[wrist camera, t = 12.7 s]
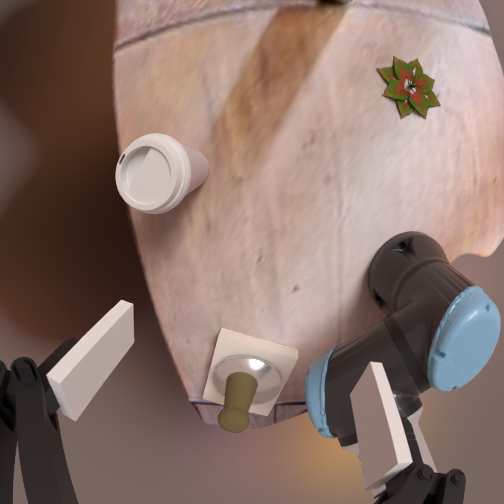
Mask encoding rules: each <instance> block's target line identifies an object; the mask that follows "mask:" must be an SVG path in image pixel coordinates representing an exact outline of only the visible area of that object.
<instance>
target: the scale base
mask: <svg viewBox="0 0 504 504" xmlns="http://www.w3.org/2000/svg"><path fill="white" fill-rule="evenodd" d="M233 355H253V356H257V357H260V358H262V359H265V360H267V361H268V362H270V363H271V364H273V365H274V366H275V367H276V368H277V370H278V371H279V373H280V375H281V389H280V392H279V393H278V395H277V396H276V397H275V398H274V399H272V400H271V401H268V402H266V403H263V404H258V405H251V406H250V409H249V412H251V413H255V414H260V415H264V416H268V415H269V413H270V411H271V410H272V408H273V406H274V404H275V402H276V401H277V399H278V397H279V395H280V393H281V391H282V389H283V388H284V386H285V384H286V382H287V380H288V378H289V376H290V374H291V372H292V370H293V368H294V366H295V364H296V362H297V360H298V349H296V348H292V347H288V346H284V345H280V344H277V343H273V342H269V341H266V340H262V339H258V338H255V337H251V336H248V335H244V334H241V333H238V332H234V331H231V330H228V329H224V328H221V331H220V334H219V336H218V340H217V343H216V347H215V351H214V355H213V359H212V363H211V367H210V371H209V375H208V379H207V383H206V386H205V390H204V394H203V398H202V399H205V400H208V401H211V402H215V403H218V404H221V405H224V398H225V397H224V396H223V395H222V394H220V393H219V392H218V390H217V389H216V387H215V386H214V383H213V373H214V370H215V368H216V366H217V364H218V363H219V362H220V361H222V360H223V359H225V358H227V357H230V356H233Z"/></svg>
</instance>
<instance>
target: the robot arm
mask: <svg viewBox="0 0 504 504" xmlns="http://www.w3.org/2000/svg"><path fill="white" fill-rule="evenodd" d="M368 284H369V289H370V292H371V295H372V297H373V299H374V300H375V302H376V304H377V305H378V306H379V308H380V309H381V310H382V311H384V312H385V313H387V314H388V316H387V317H385V318H384V319H382V320H381V321H379V322H378V323H376V324H375V325H373V326H372V327H370V328H368V329H367V330H365V331H364V332H362V333H360V334H359V335H357V336H355V337H354V338H352V339H350V340H349V341H347V342H345V343H344V344H342V345H340V346H339V347H337V346H336V347H334V348H332V349H331V350H330V352H328V353H327V354H325V355H324V356H322V357H320V358H319V359H317V360H315V361H314V362H313V363H312V364H311V365H310V366H309V368H308V370H307V373H306V378H305V382H304V394H305V401H306V406H307V410H308V413H309V416H310V418H311V421H312V423H313V425H314V426H315V428H318V432H319V433H320V434H321V435H322V436H323V437H326V438H336V437H337V438H338V440H339V442H340V445H341V447H342V449H345V450H348V451H351V452H354V453H356V454H357V455H358V457H359V459H360V462H361V467H362V476H363V485H364V490H369V489H372V491H373V494H374V496H375V497H374V498H375V499H376V502H375V503H374V504H463V499H464V491H465V482H466V480H465V475H464V473H463V472H462V471H461V470H459V469H453V470H450V471H449V472H448V473H447V474H442V473H437V471H436V468H435V465H434V463H433V460H432V457H431V455H430V452H429V450H428V447H427V445H426V442H425V440H424V438H423V435H422V433H421V430H420V428H419V426H418V420H419V417H420V415H421V412H422V410H423V405H422V403H421V401H420V398H419V395H420V394H421V393H423V392H424V391H426V390H427V389H429V388H431V387H433V388H435V389H437V390H439V391H445V392H446V391H447V392H448V391H450V390H451V389H452V388H453V389H458V388H460V387H462V386H463V385H465V384H466V383H468V382H469V381H470V380H472V379H473V378H474V377H475V376H476V375H477V374H478V373H479V372H480V371H481V370H482V368H483V367H484V366H485V364H486V363H487V361H488V360H489V358H490V356H491V355H492V353H493V350H494V348H495V346H496V344H497V341H498V337H499V333H500V315H499V312H498V309H497V307H496V305H495V304H494V303H493V302H492V301H491V300H490V298H489V297H488V296H487V295H486V293H485V292H484V290H482V289H481V288H480V287H478V286H476V285H475V284H474V283H472V282H471V281H470V280H469V279H468V278H466V277H465V276H464V275H463V274H461V273H460V272H459V271H458V270H456V269H455V268H454V267H452V266H451V265H450V263H449V261H448V259H447V257H446V255H445V253H444V251H443V249H442V247H441V246H440V245H439V244H438V243H437V242H436V241H435V240H434V239H432V238H431V237H429V236H428V235H426V234H424V233H420V232H414V231H411V232H404V233H401V234H398V235H396V236H394V237H392V238H391V239H390V240H388V241H387V242H386V243H385V244H384V245H383V246H382V247H381V248H380V249H379V250H378V252H377V253H376V255H375V257H374V258H373V261H372V263H371V266H370V270H369V276H368ZM133 343H134V323H133V304H132V303H129V302H126V301H123V300H121V301H120V302H119V303H118V304H117V305H116V306H114V308H112V309H111V310H110V311H109V312H108V313H107V314H106V315H105V316H104V317H103V318H102V319H101V320H100V321H99V322H98V323H97V324H96V325H95V326H94V327H93V328H92V329H91V330H90V331H89V332H88V333H87V334H86V335H85V336H84V337H83V338H82V339H81V340H78V339H76V338H74V337H73V338H70V339H68V340H66V341H64V342H63V343H62V344H61V345H60V346H59V347H58V349H56V350H55V351H54V353H53V354H51V355H50V356H49V357H48V358H47V359H46V360H45V361H44V362H43V363H42V364H41V365H40V366H39V367H38V368H37V366H36V363H35V362H34V361H33V360H32V359H30V358H28V357H21V358H18V359H16V360H14V362H13V363H12V364H11V367H10V368H11V371H10V370H7V368H6V366H5V364H4V363H3V362H2V361H1V360H0V504H13V476H14V464H15V455H16V446H17V440H18V449H19V457H20V464H21V471H22V477H23V482H24V487H25V492H26V496H27V500H28V504H79V503H78V501H77V498H76V494H75V492H74V488H73V485H72V482H71V478H70V474H69V471H68V467H67V463H66V459H65V454H64V450H63V445H62V439H61V434H60V428H59V422H58V415H57V412H56V411H57V410H58V408H59V407H60V408H61V410H62V412H63V414H64V415H66V416H68V417H69V418H71V419H73V420H74V421H76V420H77V419H78V417H79V416H80V415H81V413H82V412H83V410H84V409H85V408H86V406H87V405H88V403H89V402H90V400H91V399H92V398H93V397H94V395H95V394H96V392H97V391H98V390H99V388H100V387H101V386H102V384H103V383H104V381H105V380H106V379H107V377H108V376H109V375H110V373H111V372H112V371H113V369H114V368H115V367H116V365H117V364H118V363H119V361H120V360H121V359H122V357H123V356H124V355H125V353H126V352H127V351H128V350H129V348H130V347H131V346H132V344H133Z"/></svg>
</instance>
